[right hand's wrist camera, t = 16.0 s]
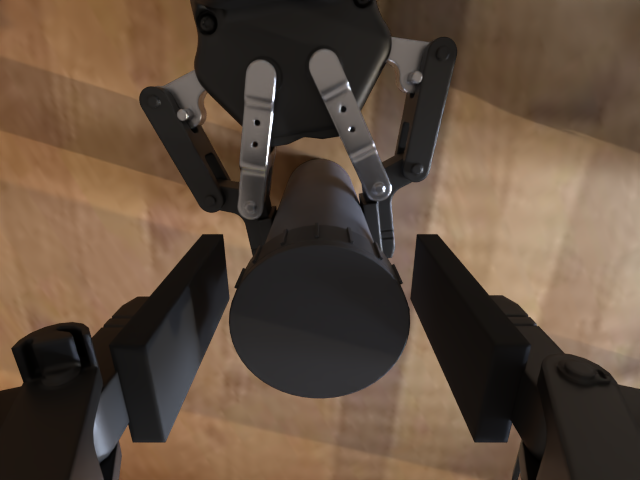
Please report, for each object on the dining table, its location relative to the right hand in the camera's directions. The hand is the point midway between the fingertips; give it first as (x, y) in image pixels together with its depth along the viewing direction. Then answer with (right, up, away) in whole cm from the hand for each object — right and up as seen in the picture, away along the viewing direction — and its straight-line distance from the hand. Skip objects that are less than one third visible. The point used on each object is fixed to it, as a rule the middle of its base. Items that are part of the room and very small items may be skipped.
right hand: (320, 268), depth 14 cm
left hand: (0, -1, +6) cm, 6 cm away
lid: (0, -1, -3) cm, 4 cm away
